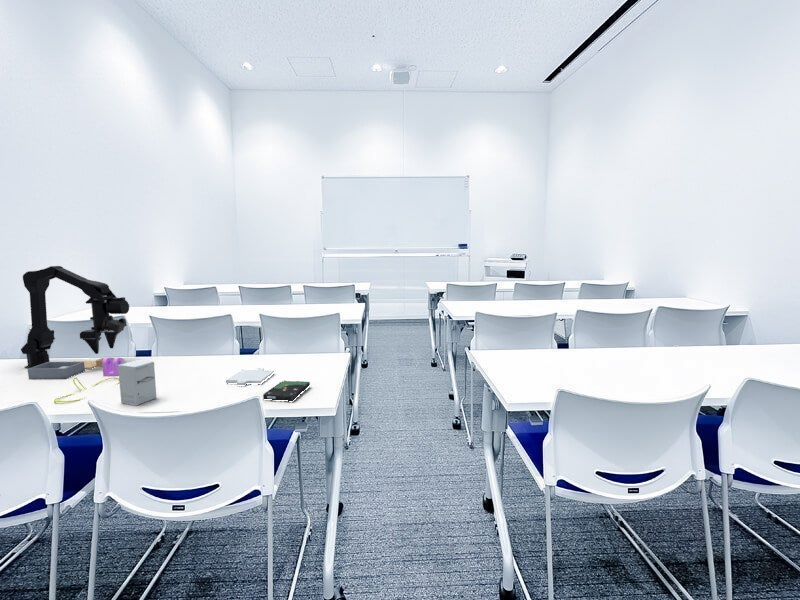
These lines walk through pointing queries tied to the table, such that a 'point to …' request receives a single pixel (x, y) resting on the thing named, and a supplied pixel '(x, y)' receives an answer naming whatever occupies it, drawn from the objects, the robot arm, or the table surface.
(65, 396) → the yellow cable
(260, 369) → the mounting plate
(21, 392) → the table surface
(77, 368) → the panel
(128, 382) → the supplement box
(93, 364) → the tan board with handle
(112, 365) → the bracket
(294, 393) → the disk drive
